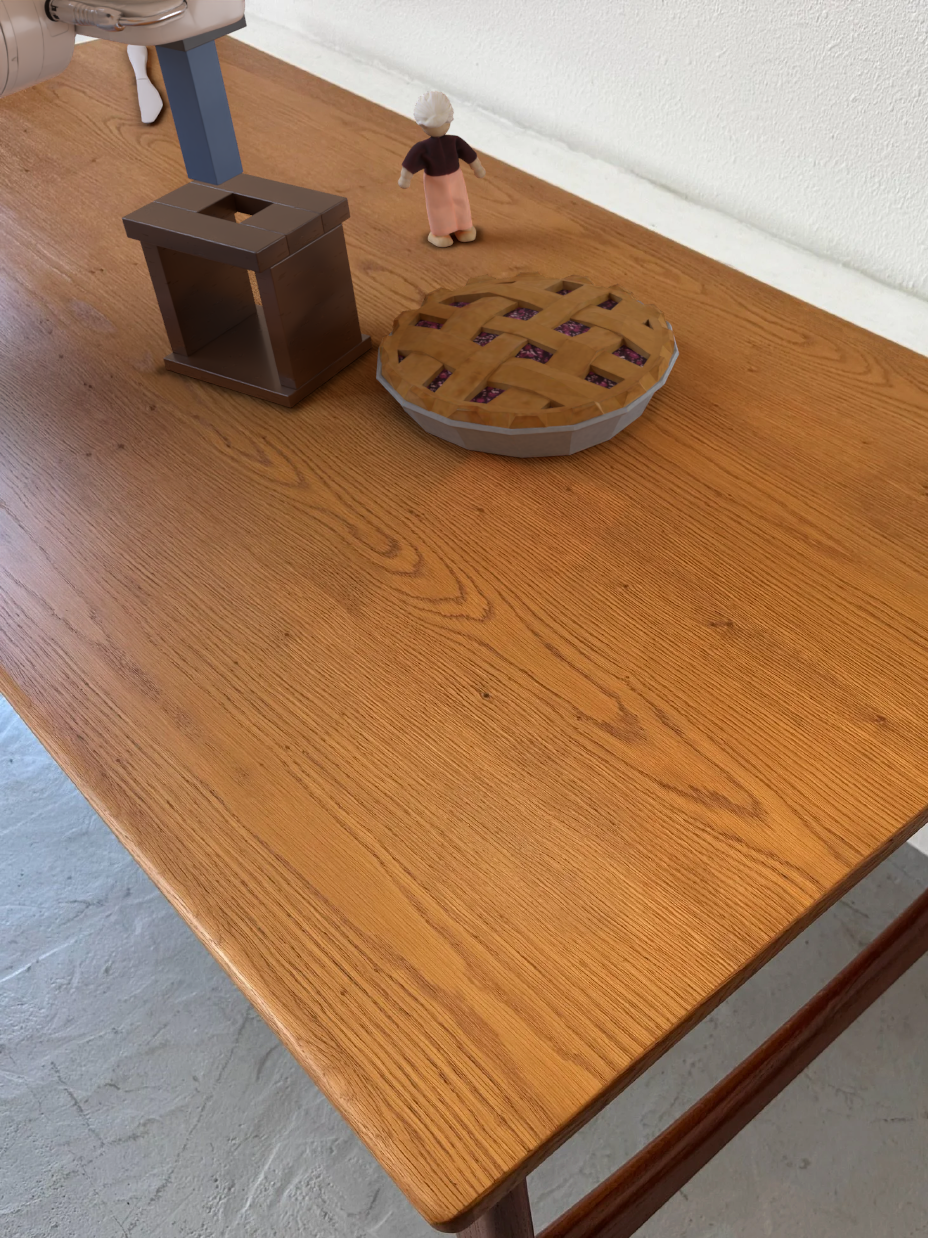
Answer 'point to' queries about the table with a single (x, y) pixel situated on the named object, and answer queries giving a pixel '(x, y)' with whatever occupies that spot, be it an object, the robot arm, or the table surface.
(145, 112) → the butter knife
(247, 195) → the stand
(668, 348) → the pie
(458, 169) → the grandmother figurine
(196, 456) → the table surface
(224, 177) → the peg
